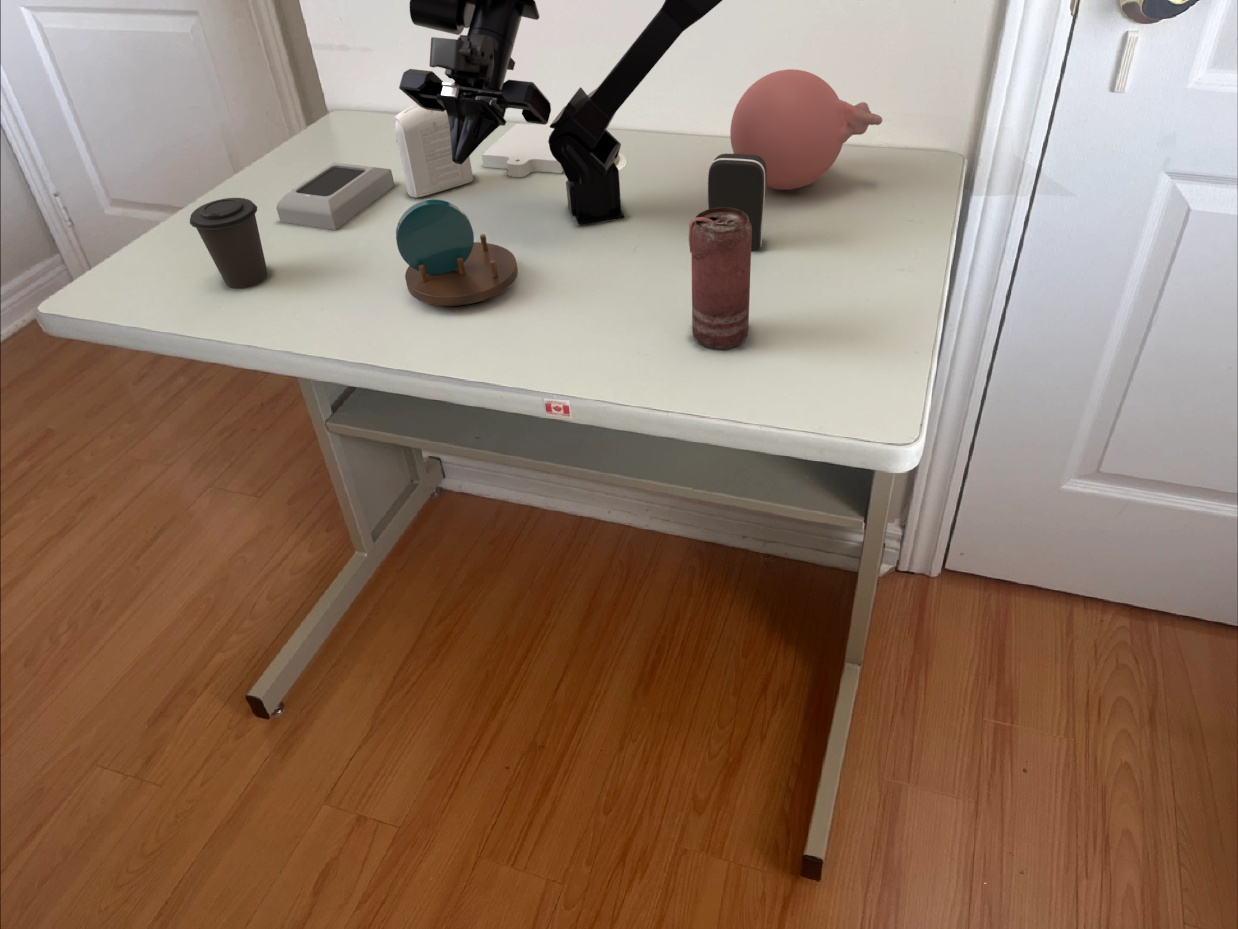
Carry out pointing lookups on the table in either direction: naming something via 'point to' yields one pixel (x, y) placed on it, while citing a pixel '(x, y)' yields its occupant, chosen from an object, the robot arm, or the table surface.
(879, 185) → the table surface
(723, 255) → the worn red soda can
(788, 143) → the round balloon
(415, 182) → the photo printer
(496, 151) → the mounting plate
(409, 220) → the dish rack
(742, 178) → the black rounded block
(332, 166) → the grey flat block
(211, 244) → the coffee cup
